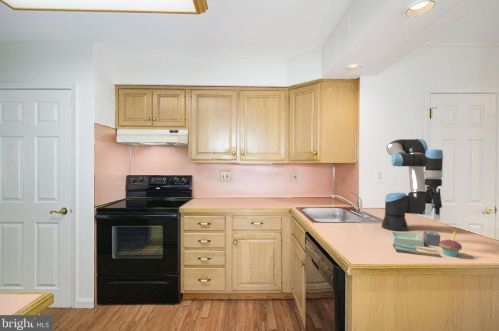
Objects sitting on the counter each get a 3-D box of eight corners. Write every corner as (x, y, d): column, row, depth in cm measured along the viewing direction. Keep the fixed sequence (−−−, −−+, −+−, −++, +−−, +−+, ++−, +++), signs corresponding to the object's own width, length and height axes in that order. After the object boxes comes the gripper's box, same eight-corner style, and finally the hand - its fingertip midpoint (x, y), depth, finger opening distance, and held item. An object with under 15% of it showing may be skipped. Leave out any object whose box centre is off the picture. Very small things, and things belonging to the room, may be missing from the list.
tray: (390, 236, 152) (390, 231, 152) (416, 239, 147) (417, 233, 147) (394, 243, 139) (394, 237, 139) (423, 246, 134) (423, 240, 134)
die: (423, 241, 142) (423, 231, 142) (436, 243, 140) (436, 232, 140) (426, 245, 137) (426, 233, 137) (439, 246, 135) (440, 235, 135)
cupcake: (451, 251, 127) (452, 227, 127) (466, 258, 119) (467, 232, 118) (434, 251, 127) (435, 227, 127) (448, 258, 118) (449, 232, 118)
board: (392, 245, 136) (392, 242, 136) (432, 249, 130) (432, 247, 130) (396, 252, 126) (396, 249, 126) (440, 257, 120) (440, 254, 120)
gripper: (418, 176, 151) (417, 212, 151) (432, 179, 127) (431, 222, 128) (434, 177, 148) (433, 213, 149) (450, 180, 125) (449, 223, 125)
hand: (432, 217), depth 138 cm, fingers open, 13 cm apart
